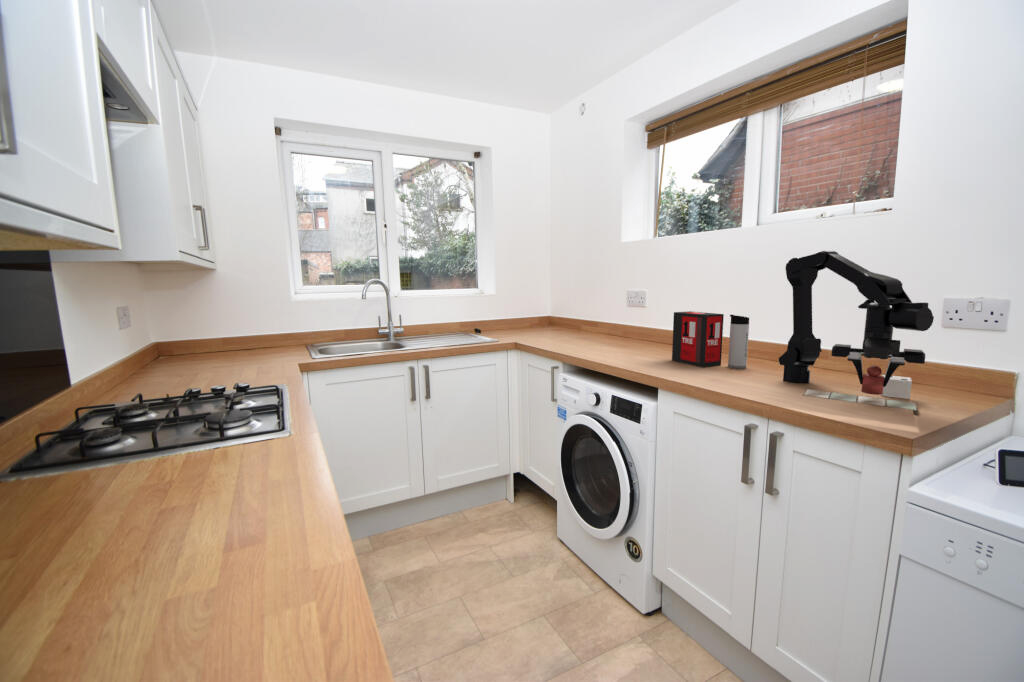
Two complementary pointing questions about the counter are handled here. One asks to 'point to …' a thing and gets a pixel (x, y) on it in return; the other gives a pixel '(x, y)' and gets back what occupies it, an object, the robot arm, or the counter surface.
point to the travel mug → (738, 342)
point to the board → (863, 400)
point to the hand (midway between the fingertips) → (872, 385)
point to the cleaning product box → (697, 338)
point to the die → (898, 387)
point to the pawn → (873, 381)
